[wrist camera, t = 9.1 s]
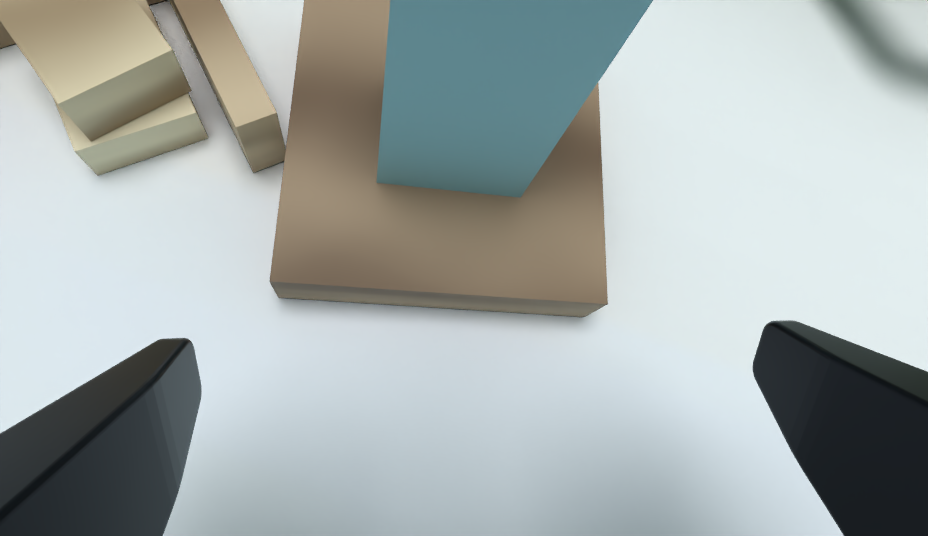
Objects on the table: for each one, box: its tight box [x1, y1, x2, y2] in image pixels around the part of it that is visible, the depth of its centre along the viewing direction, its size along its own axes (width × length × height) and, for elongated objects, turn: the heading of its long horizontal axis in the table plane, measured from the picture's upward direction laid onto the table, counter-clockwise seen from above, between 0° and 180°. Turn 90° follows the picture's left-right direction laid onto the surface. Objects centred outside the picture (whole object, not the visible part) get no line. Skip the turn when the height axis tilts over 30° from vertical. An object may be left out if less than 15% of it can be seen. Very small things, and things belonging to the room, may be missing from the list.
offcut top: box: [0, 0, 191, 141], centre depth 17 cm, size 4×3×2 cm
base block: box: [270, 0, 608, 317], centre depth 20 cm, size 10×10×2 cm
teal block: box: [376, 0, 653, 198], centre depth 14 cm, size 4×4×10 cm
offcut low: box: [54, 0, 208, 175], centre depth 19 cm, size 5×4×2 cm
